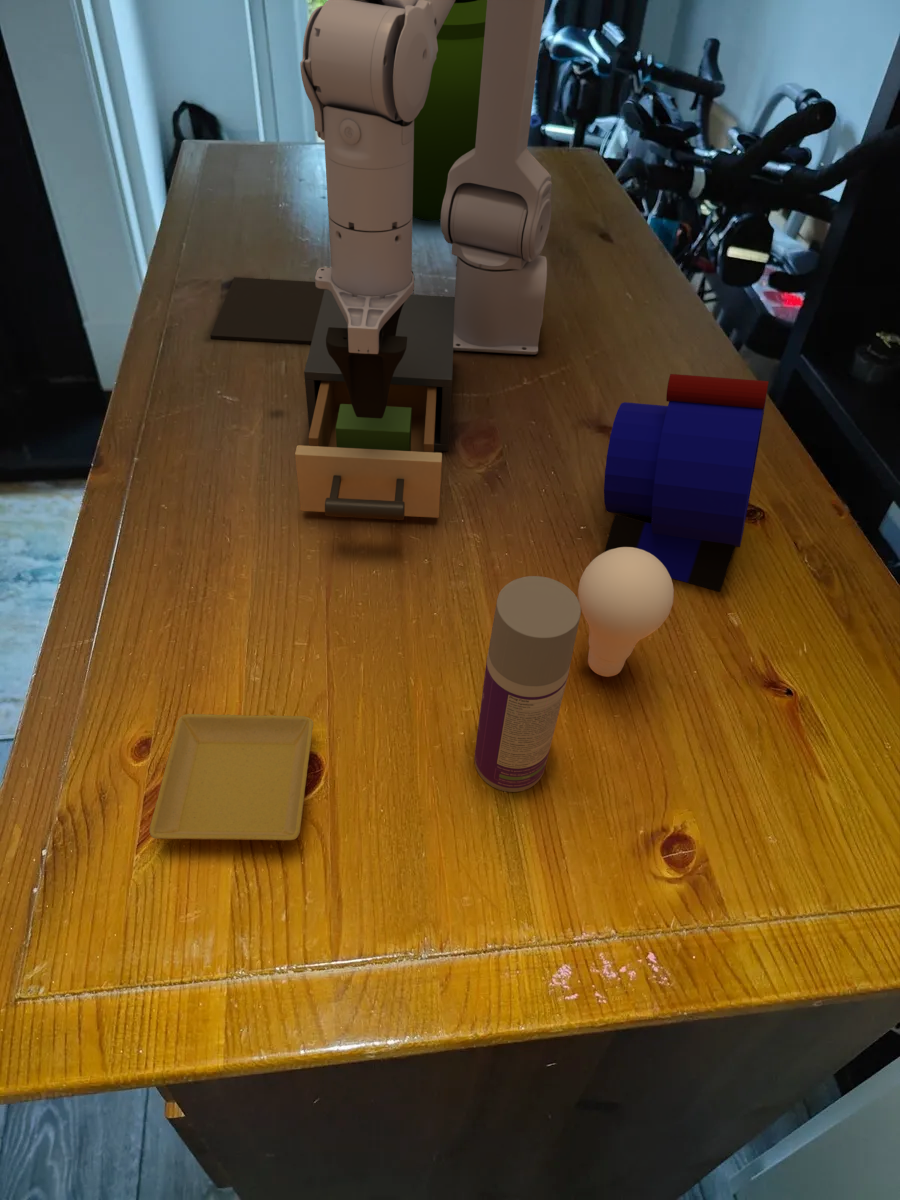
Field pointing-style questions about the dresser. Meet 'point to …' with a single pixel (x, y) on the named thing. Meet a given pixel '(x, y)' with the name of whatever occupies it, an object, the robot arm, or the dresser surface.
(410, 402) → the drawer
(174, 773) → the saucer
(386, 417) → the block
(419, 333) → the cabinet
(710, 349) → the dresser surface
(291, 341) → the mat
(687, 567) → the alarm clock
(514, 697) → the container
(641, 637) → the lightbulb
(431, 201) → the vase
